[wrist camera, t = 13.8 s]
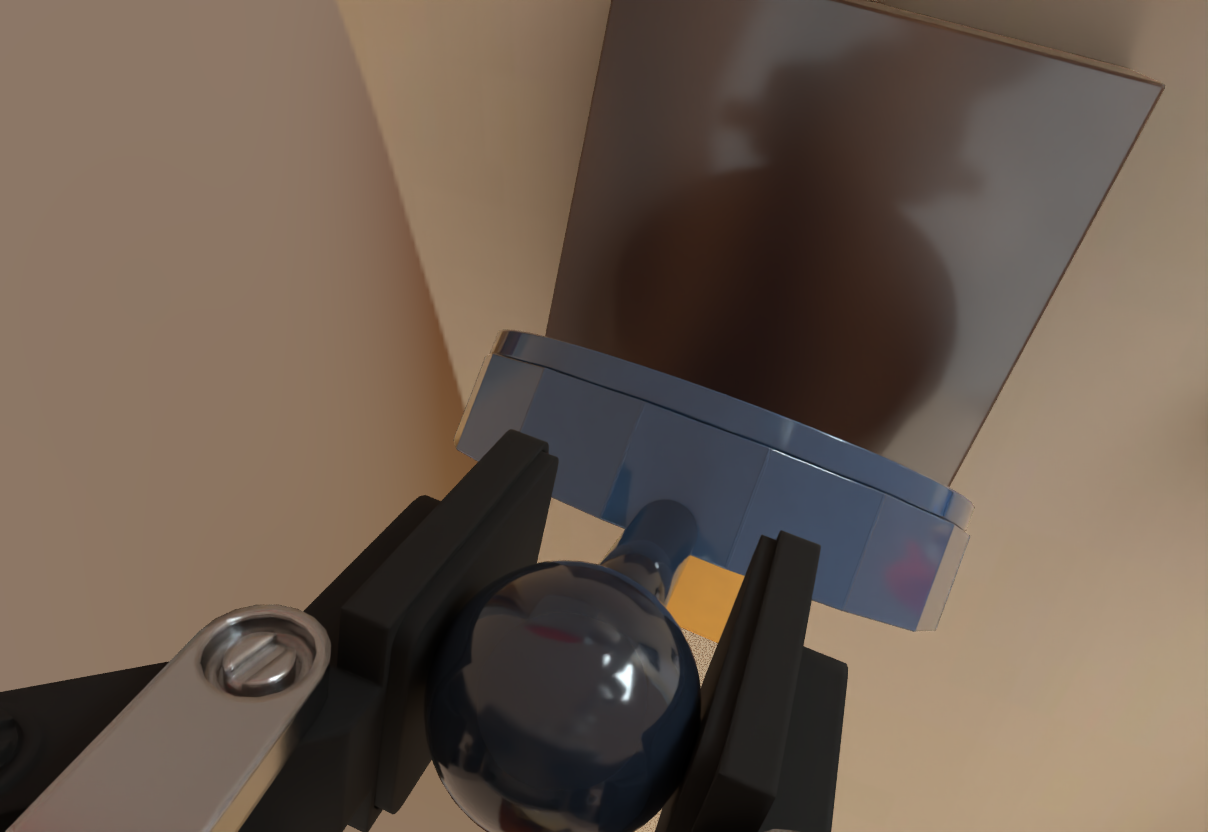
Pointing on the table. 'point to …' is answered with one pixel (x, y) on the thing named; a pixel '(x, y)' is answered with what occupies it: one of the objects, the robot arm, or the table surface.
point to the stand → (835, 208)
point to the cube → (704, 598)
